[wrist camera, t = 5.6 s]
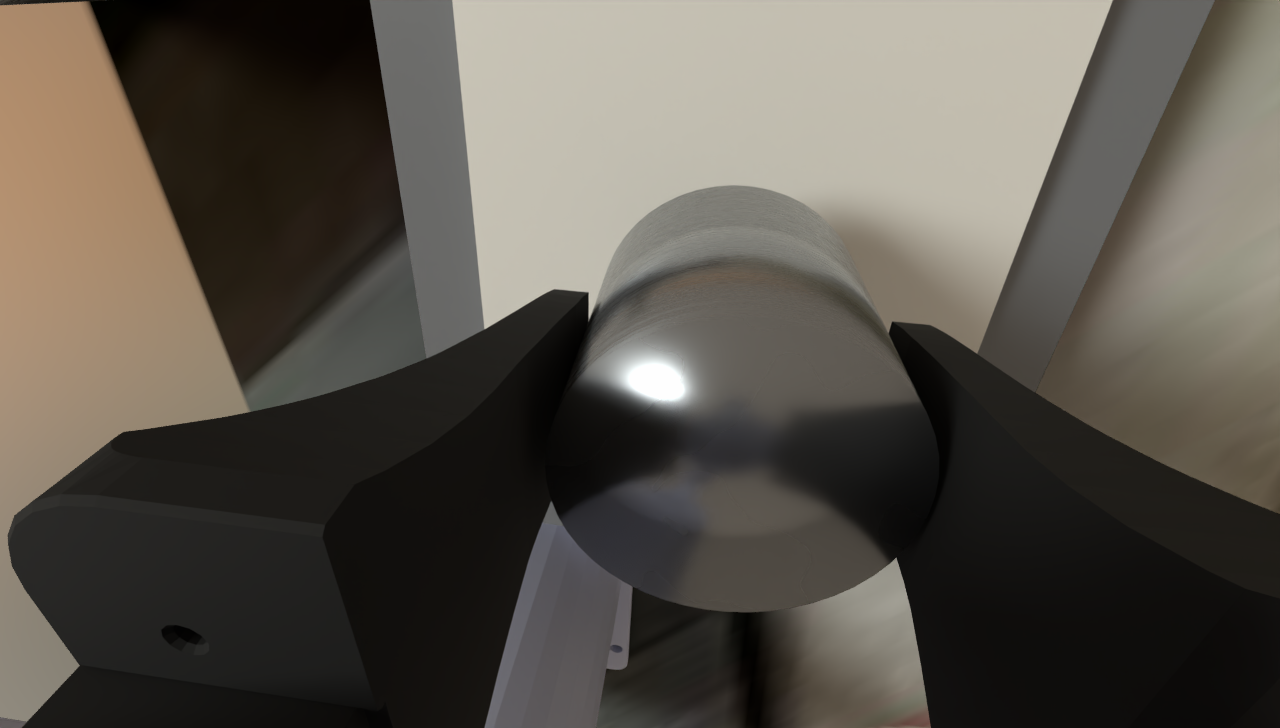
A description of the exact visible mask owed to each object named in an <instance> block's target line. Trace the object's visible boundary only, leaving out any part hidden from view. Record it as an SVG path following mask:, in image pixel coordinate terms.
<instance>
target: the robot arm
mask: <svg viewBox="0 0 1280 728" xmlns="http://www.w3.org/2000/svg"><path fill="white" fill-rule="evenodd" d="M588 322H589V292H580V291H569V290H559V289H553V290H551V291H549V292H547V293H545V294H543V295H541V296H540V297H538V298H536V299H535V300H533V301H531V302H530V303H528V304H526V305H525V306H523V307H521V308H520V309H518V310H516V311H515V312H513V313H511V314H510V315H508V316H506V317H505V318H503V319H501V320H500V321H498V322H496V323H495V324H493V325H491V326H489V327H488V328H486V329H484V330H482V331H480V332H478V333H476V334H475V335H473V336H471V337H469V338H467V339H465V340H463V341H461V342H459V343H457V344H455V345H454V346H452V347H450V348H448V349H446V350H444V351H442V352H440V353H438V354H435V355H433V356H431V357H429V358H427V359H424V360H422V361H420V362H417V363H415V364H412V365H410V366H407V367H405V368H402V369H400V370H397V371H395V372H392V373H390V374H387V375H384V376H381V377H379V378H376V379H372V380H369V381H366V382H363V383H359V384H356V385H353V386H350V387H347V388H343V389H340V390H337V391H334V392H331V393H327V394H324V395H321V396H317V397H313V398H309V399H305V400H301V401H297V402H293V403H289V404H285V405H281V406H276V407H272V408H267V409H262V410H258V411H253V412H248V413H243V414H238V415H233V416H228V417H222V418H216V419H210V420H204V421H197V422H190V423H184V424H177V425H171V426H164V427H158V428H151V429H144V430H136V431H128V432H123V433H121V434H120V435H118V436H117V437H115V438H114V439H113V440H111V441H110V442H109V443H108V444H106V445H105V446H104V447H102V448H101V449H100V450H99V451H97V452H96V453H95V454H93V455H92V456H91V457H90V458H88V459H87V460H86V461H84V462H83V463H82V464H80V465H79V466H78V467H77V468H75V469H74V470H73V471H71V472H70V473H69V474H68V475H66V476H65V477H64V478H62V479H61V480H60V481H59V482H57V483H56V484H55V485H53V486H52V487H51V488H49V489H48V490H47V491H46V492H44V493H43V494H42V495H40V496H39V497H38V498H36V499H35V500H34V501H32V502H31V503H30V504H29V505H28V506H26V507H25V508H23V509H22V510H21V511H20V512H18V513H17V514H16V515H15V516H14V519H13V521H12V524H11V527H10V530H9V533H8V546H9V551H10V557H11V563H12V567H13V569H14V571H15V573H16V574H17V576H18V578H19V580H20V581H21V583H22V585H23V587H24V589H25V590H26V592H27V593H28V594H29V596H30V597H31V599H32V600H33V601H34V603H35V604H36V605H37V607H38V608H39V610H40V611H41V612H42V614H43V615H44V616H45V618H46V619H47V621H48V622H49V623H50V625H51V626H52V628H53V629H54V630H55V632H56V633H57V635H58V636H59V637H60V639H61V640H62V641H63V643H64V644H65V646H66V647H67V648H68V650H69V651H70V653H71V654H72V655H73V657H74V658H75V659H76V661H77V662H78V664H79V665H80V666H79V667H78V668H77V669H76V671H75V672H74V673H73V674H72V675H71V676H70V677H69V678H68V679H67V680H66V681H65V682H64V683H63V684H62V685H61V687H60V688H59V689H58V690H57V691H56V692H55V693H54V694H53V695H52V696H51V697H50V698H49V699H48V700H47V701H46V702H45V703H44V704H43V706H42V707H41V708H40V709H39V710H38V711H37V712H36V713H35V714H34V715H33V716H32V717H31V718H30V719H29V721H27V722H26V721H19V720H13V719H7V718H1V717H0V728H596V724H597V718H598V713H599V707H600V701H601V696H602V690H603V685H604V679H605V674H606V668H607V669H614V670H621V669H624V668H625V667H627V664H628V658H629V641H630V624H631V607H632V590H633V587H632V586H630V585H628V584H626V583H625V582H623V581H621V580H620V579H618V578H617V577H615V576H613V575H612V574H610V573H609V572H607V571H606V570H605V569H603V568H602V567H601V566H599V565H598V564H597V563H596V562H594V561H593V560H592V559H591V558H590V557H589V556H588V555H587V554H586V553H585V552H584V551H583V550H582V549H581V548H580V547H579V546H578V545H577V544H576V542H575V541H574V540H573V539H572V537H571V536H570V535H569V533H568V532H567V531H566V529H565V527H564V526H560V525H552V524H544V523H543V520H544V518H545V515H546V513H547V510H548V508H549V505H550V503H551V498H550V495H549V490H548V486H547V482H546V471H545V455H546V446H547V440H548V437H549V433H550V430H551V426H552V423H553V420H554V417H555V414H556V412H557V409H558V406H559V403H560V400H561V398H562V395H563V392H564V389H565V386H566V384H567V381H568V378H569V375H570V372H571V369H572V367H573V364H574V361H575V358H576V355H577V353H578V350H579V347H580V344H581V341H582V339H583V336H584V333H585V330H586V327H587V325H588ZM889 336H890V338H891V340H892V342H893V344H894V346H895V348H896V350H897V352H898V354H899V356H900V358H901V360H902V363H903V365H904V367H905V369H906V371H907V373H908V375H909V377H910V379H911V381H912V383H913V385H914V387H915V389H916V392H917V394H918V396H919V398H920V400H921V402H922V404H923V406H924V408H925V410H926V412H927V414H928V417H929V419H930V422H931V425H932V427H933V430H934V433H935V435H936V441H937V446H938V452H939V480H938V485H937V490H936V495H935V499H934V501H933V504H932V506H931V509H930V512H929V514H928V516H927V518H926V520H925V521H924V523H923V525H922V527H921V528H920V530H919V532H918V533H917V535H916V536H915V537H914V538H913V540H912V541H911V542H910V543H909V545H908V546H907V547H906V548H905V549H904V550H903V551H902V552H901V553H900V554H899V555H898V556H897V561H898V564H899V567H900V570H901V574H902V577H903V580H904V584H905V588H906V592H907V596H908V600H909V604H910V608H911V613H912V618H913V623H914V629H915V634H916V640H917V645H918V651H919V656H920V662H921V667H922V673H923V680H924V686H925V692H926V699H927V705H928V711H929V718H930V724H931V728H1280V514H1278V513H1275V512H1273V511H1270V510H1268V509H1265V508H1263V507H1260V506H1258V505H1255V504H1253V503H1250V502H1248V501H1245V500H1243V499H1241V498H1238V497H1236V496H1234V495H1231V494H1229V493H1227V492H1225V491H1222V490H1220V489H1218V488H1215V487H1213V486H1211V485H1208V484H1206V483H1204V482H1201V481H1199V480H1197V479H1194V478H1192V477H1190V476H1188V475H1185V474H1183V473H1181V472H1179V471H1177V470H1175V469H1173V468H1170V467H1168V466H1166V465H1164V464H1162V463H1160V462H1158V461H1156V460H1154V459H1152V458H1150V457H1148V456H1146V455H1144V454H1142V453H1140V452H1138V451H1136V450H1134V449H1132V448H1130V447H1128V446H1126V445H1124V444H1123V443H1121V442H1119V441H1117V440H1115V439H1113V438H1111V437H1109V436H1107V435H1105V434H1103V433H1102V432H1100V431H1098V430H1096V429H1094V428H1093V427H1091V426H1089V425H1087V424H1086V423H1084V422H1082V421H1080V420H1079V419H1077V418H1075V417H1074V416H1072V415H1070V414H1069V413H1067V412H1065V411H1064V410H1062V409H1061V408H1059V407H1057V406H1056V405H1054V404H1052V403H1051V402H1049V401H1047V400H1046V399H1044V398H1043V397H1041V396H1039V395H1038V394H1036V393H1035V392H1033V391H1032V390H1030V389H1029V388H1027V387H1025V386H1024V385H1022V384H1021V383H1019V382H1018V381H1016V380H1015V379H1013V378H1012V377H1010V376H1009V375H1007V374H1006V373H1004V372H1003V371H1002V370H1000V369H999V368H997V367H996V366H994V365H993V364H991V363H990V362H988V361H987V360H985V359H984V358H982V357H981V356H980V355H978V354H977V353H975V352H974V351H972V350H971V349H969V348H968V347H966V346H965V345H963V344H962V343H960V342H959V341H957V340H956V339H954V338H953V337H951V336H950V335H948V334H946V333H945V332H943V331H941V330H939V329H937V328H935V327H933V326H931V325H925V324H915V323H905V322H894V321H892V323H891V327H890V330H889Z"/></svg>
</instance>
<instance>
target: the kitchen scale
mask: <svg viewBox="0 0 1280 728" xmlns="http://www.w3.org/2000/svg"><path fill="white" fill-rule="evenodd" d="M1214 1H1215V0H370V4H371V10H372V16H373V23H374V29H375V35H376V42H377V48H378V54H379V61H380V67H381V73H382V80H383V86H384V92H385V99H386V105H387V111H388V118H389V124H390V130H391V137H392V143H393V149H394V156H395V162H396V168H397V175H398V181H399V187H400V194H401V200H402V206H403V213H404V219H405V225H406V232H407V238H408V244H409V251H410V257H411V263H412V270H413V276H414V282H415V289H416V295H417V301H418V308H419V314H420V320H421V327H422V333H423V339H424V346H425V352H426V358H429V357H431V356H433V355H435V354H438V353H440V352H442V351H444V350H446V349H448V348H450V347H452V346H454V345H455V344H457V343H459V342H461V341H463V340H465V339H467V338H469V337H471V336H473V335H475V334H476V333H478V332H480V331H482V330H484V329H486V328H488V327H489V326H491V325H493V324H495V323H496V322H498V321H500V320H501V319H503V318H505V317H506V316H508V315H510V314H511V313H513V312H515V311H516V310H518V309H520V308H521V307H523V306H525V305H526V304H528V303H530V302H531V301H533V300H535V299H536V298H538V297H540V296H541V295H543V294H545V293H547V292H549V291H551V290H553V289H559V290H569V291H580V292H589V319H590V316H591V313H592V311H593V308H594V305H595V302H596V299H597V297H598V294H599V291H600V288H601V285H602V283H603V280H604V277H605V274H606V271H607V269H608V266H609V264H610V262H611V259H612V257H613V255H614V253H615V251H616V249H617V248H618V246H619V245H620V243H621V242H622V240H623V239H624V237H625V236H626V235H627V234H628V233H629V231H630V230H631V229H632V228H633V227H634V226H635V225H636V224H637V223H638V222H639V221H640V220H641V219H643V218H644V217H645V216H646V215H647V214H648V213H650V212H651V211H653V210H654V209H656V208H657V207H659V206H660V205H662V204H664V203H666V202H668V201H670V200H672V199H674V198H676V197H678V196H681V195H683V194H686V193H689V192H692V191H695V190H700V189H705V188H710V187H715V186H729V185H738V186H753V187H758V188H763V189H768V190H772V191H775V192H778V193H781V194H784V195H787V196H789V197H791V198H793V199H795V200H797V201H799V202H801V203H803V204H805V205H806V206H808V207H809V208H810V209H812V210H813V211H815V212H816V213H818V214H819V215H820V216H821V217H822V218H823V219H824V220H825V221H826V222H828V223H829V224H830V225H831V226H832V228H833V229H834V230H835V231H836V233H837V234H838V235H839V236H840V238H841V239H842V241H843V242H844V244H845V246H846V248H847V249H848V251H849V253H850V255H851V257H852V259H853V261H854V263H855V265H856V267H857V269H858V271H859V274H860V276H861V278H862V280H863V282H864V284H865V286H866V288H867V290H868V292H869V294H870V296H871V298H872V300H873V303H874V305H875V307H876V309H877V311H878V313H879V315H880V317H881V319H882V321H883V323H884V325H885V327H886V329H887V332H888V334H889V330H890V327H891V323H892V321H894V322H905V323H915V324H925V325H931V326H933V327H935V328H937V329H939V330H941V331H943V332H945V333H946V334H948V335H950V336H951V337H953V338H954V339H956V340H957V341H959V342H960V343H962V344H963V345H965V346H966V347H968V348H969V349H971V350H972V351H974V352H975V353H977V354H978V355H980V356H981V357H982V358H984V359H985V360H987V361H988V362H990V363H991V364H993V365H994V366H996V367H997V368H999V369H1000V370H1002V371H1003V372H1004V373H1006V374H1007V375H1009V376H1010V377H1012V378H1013V379H1015V380H1016V381H1018V382H1019V383H1021V384H1022V385H1024V386H1025V387H1027V388H1029V389H1030V390H1032V391H1033V392H1036V390H1037V388H1038V385H1039V383H1040V381H1041V379H1042V377H1043V374H1044V372H1045V370H1046V368H1047V366H1048V363H1049V361H1050V359H1051V357H1052V355H1053V353H1054V350H1055V348H1056V346H1057V344H1058V342H1059V339H1060V337H1061V335H1062V333H1063V331H1064V329H1065V326H1066V324H1067V322H1068V320H1069V318H1070V315H1071V313H1072V311H1073V309H1074V307H1075V305H1076V302H1077V300H1078V298H1079V296H1080V294H1081V291H1082V289H1083V287H1084V285H1085V283H1086V281H1087V278H1088V276H1089V274H1090V272H1091V270H1092V267H1093V265H1094V263H1095V261H1096V259H1097V257H1098V254H1099V252H1100V250H1101V248H1102V246H1103V243H1104V241H1105V239H1106V237H1107V235H1108V233H1109V230H1110V228H1111V226H1112V224H1113V222H1114V219H1115V217H1116V215H1117V213H1118V211H1119V208H1120V206H1121V204H1122V202H1123V200H1124V198H1125V195H1126V193H1127V191H1128V189H1129V187H1130V184H1131V182H1132V180H1133V178H1134V176H1135V174H1136V171H1137V169H1138V167H1139V165H1140V163H1141V160H1142V158H1143V156H1144V154H1145V152H1146V150H1147V147H1148V145H1149V143H1150V141H1151V139H1152V136H1153V134H1154V132H1155V130H1156V128H1157V126H1158V123H1159V121H1160V119H1161V117H1162V115H1163V112H1164V110H1165V108H1166V106H1167V104H1168V102H1169V99H1170V97H1171V95H1172V93H1173V91H1174V88H1175V86H1176V84H1177V82H1178V80H1179V78H1180V75H1181V73H1182V71H1183V69H1184V67H1185V64H1186V62H1187V60H1188V58H1189V56H1190V53H1191V51H1192V49H1193V47H1194V45H1195V43H1196V40H1197V38H1198V36H1199V34H1200V32H1201V29H1202V27H1203V25H1204V23H1205V21H1206V19H1207V16H1208V14H1209V12H1210V10H1211V8H1212V5H1213V3H1214ZM543 523H544V524H552V525H560V526H563V524H562V522H561V521H560V519H559V517H558V515H557V513H556V511H555V508H554V506H553V503H552V501H551V503H550V505H549V508H548V510H547V513H546V515H545V518H544V520H543Z"/></svg>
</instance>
